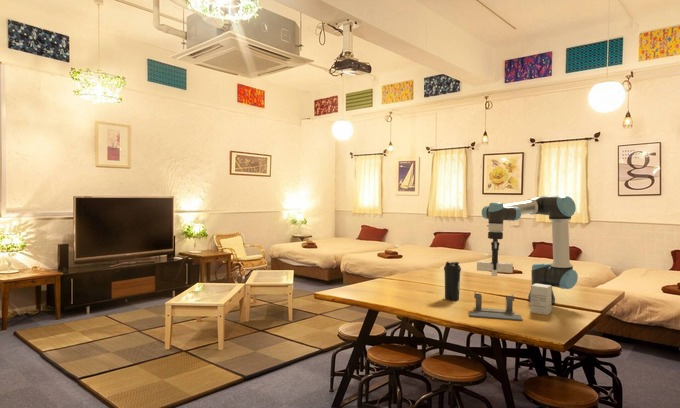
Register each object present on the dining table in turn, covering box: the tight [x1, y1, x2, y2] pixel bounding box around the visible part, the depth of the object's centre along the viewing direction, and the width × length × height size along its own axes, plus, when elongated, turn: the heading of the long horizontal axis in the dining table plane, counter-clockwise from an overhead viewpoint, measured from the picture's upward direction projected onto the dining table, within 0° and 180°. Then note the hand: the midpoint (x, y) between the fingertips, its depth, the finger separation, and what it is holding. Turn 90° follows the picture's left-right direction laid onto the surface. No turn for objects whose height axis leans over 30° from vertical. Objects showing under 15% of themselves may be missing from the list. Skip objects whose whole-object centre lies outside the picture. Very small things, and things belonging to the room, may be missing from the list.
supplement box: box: [529, 283, 553, 316], centre depth 243 cm, size 9×9×15 cm
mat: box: [468, 310, 524, 322], centre depth 233 cm, size 26×9×1 cm, turn 74°
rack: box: [473, 291, 515, 315], centre depth 244 cm, size 21×6×10 cm, turn 74°
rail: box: [476, 261, 514, 274], centre depth 236 cm, size 18×4×4 cm, turn 73°
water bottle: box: [443, 261, 462, 302], centre depth 272 cm, size 10×10×23 cm
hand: (494, 275), depth 236 cm, fingers closed on rail, 3 cm apart
